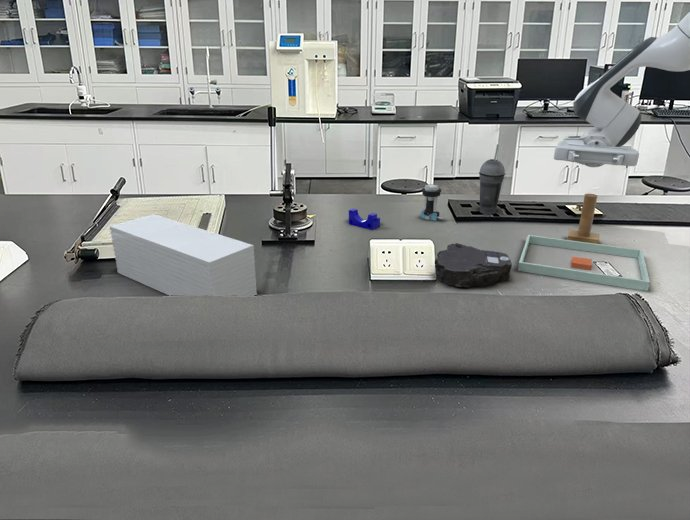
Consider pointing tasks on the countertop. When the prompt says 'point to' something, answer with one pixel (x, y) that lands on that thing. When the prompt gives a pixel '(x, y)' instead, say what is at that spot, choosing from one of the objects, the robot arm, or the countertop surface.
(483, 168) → the beverage cup
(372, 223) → the cable holder
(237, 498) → the countertop surface
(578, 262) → the felt chip
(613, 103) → the robot arm
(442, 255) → the rock sample
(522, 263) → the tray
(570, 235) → the brush
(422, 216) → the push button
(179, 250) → the stack of papers
